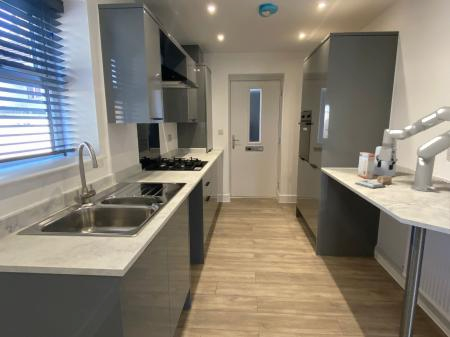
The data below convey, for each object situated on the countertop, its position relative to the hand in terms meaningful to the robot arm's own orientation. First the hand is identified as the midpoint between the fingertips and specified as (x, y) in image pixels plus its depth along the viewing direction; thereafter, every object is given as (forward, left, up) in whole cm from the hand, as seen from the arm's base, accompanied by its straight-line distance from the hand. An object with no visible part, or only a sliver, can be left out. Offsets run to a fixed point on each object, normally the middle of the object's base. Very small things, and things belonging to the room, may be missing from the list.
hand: (384, 168), depth 194 cm
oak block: (-1, 0, -12) cm, 12 cm away
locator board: (-1, +14, -12) cm, 18 cm away
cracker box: (+22, -6, -12) cm, 26 cm away
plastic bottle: (+24, -29, -12) cm, 40 cm away
